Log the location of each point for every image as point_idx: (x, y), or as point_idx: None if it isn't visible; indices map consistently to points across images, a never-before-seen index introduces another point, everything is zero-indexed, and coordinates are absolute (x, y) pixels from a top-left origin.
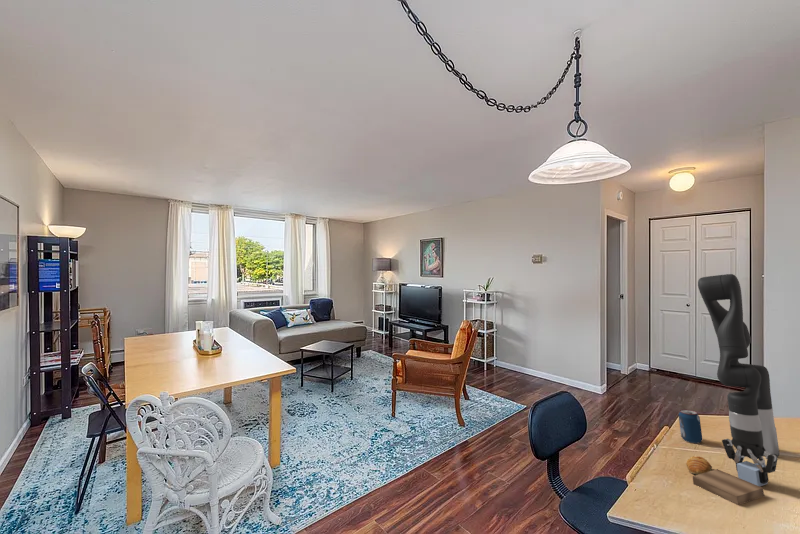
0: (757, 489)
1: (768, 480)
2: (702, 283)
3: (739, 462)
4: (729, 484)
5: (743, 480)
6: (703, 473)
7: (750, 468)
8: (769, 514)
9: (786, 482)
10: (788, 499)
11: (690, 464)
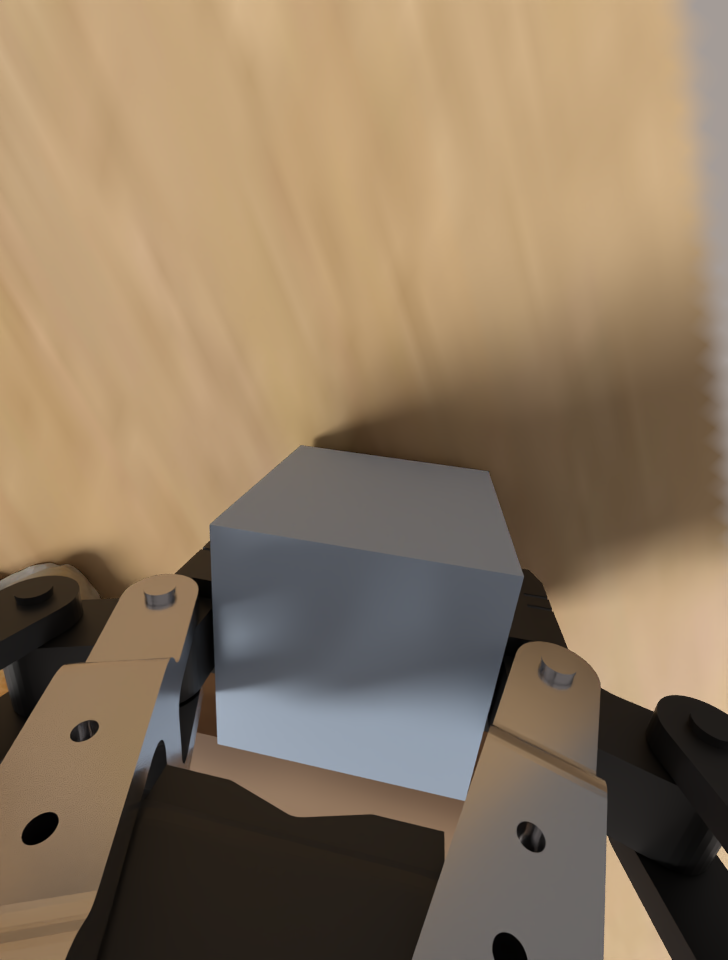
0: None
1: (540, 585)
2: None
3: (207, 676)
4: None
5: (389, 784)
6: None
7: (388, 763)
8: (638, 937)
9: (611, 163)
10: (704, 642)
11: None
